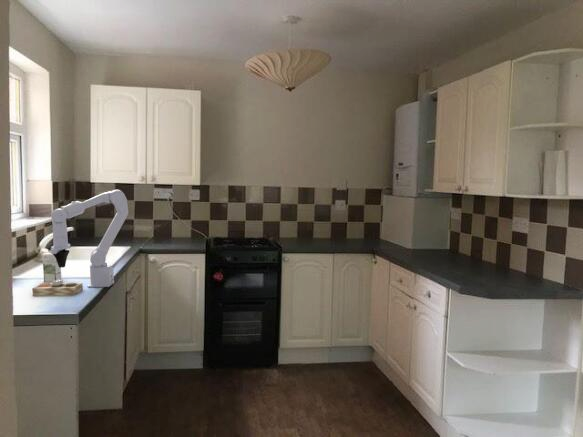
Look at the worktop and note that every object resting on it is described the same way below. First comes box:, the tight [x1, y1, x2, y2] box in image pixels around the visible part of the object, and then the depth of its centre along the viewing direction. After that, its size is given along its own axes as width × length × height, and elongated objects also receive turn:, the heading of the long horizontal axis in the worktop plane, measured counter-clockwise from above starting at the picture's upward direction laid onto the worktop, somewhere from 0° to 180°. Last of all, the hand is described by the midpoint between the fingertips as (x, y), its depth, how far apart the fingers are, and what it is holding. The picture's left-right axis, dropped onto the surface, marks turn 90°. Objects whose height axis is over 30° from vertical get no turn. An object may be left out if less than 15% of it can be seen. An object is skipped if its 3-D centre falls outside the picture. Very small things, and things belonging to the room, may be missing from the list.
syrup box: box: [41, 251, 63, 283], centre depth 221 cm, size 6×6×14 cm
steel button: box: [52, 279, 64, 287], centre depth 207 cm, size 4×4×2 cm
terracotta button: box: [38, 282, 50, 287], centre depth 207 cm, size 4×4×2 cm
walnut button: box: [66, 282, 77, 287], centre depth 207 cm, size 4×4×2 cm
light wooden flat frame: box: [31, 282, 84, 296], centre depth 207 cm, size 17×9×3 cm, turn 92°
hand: (62, 267), depth 213 cm, fingers closed
